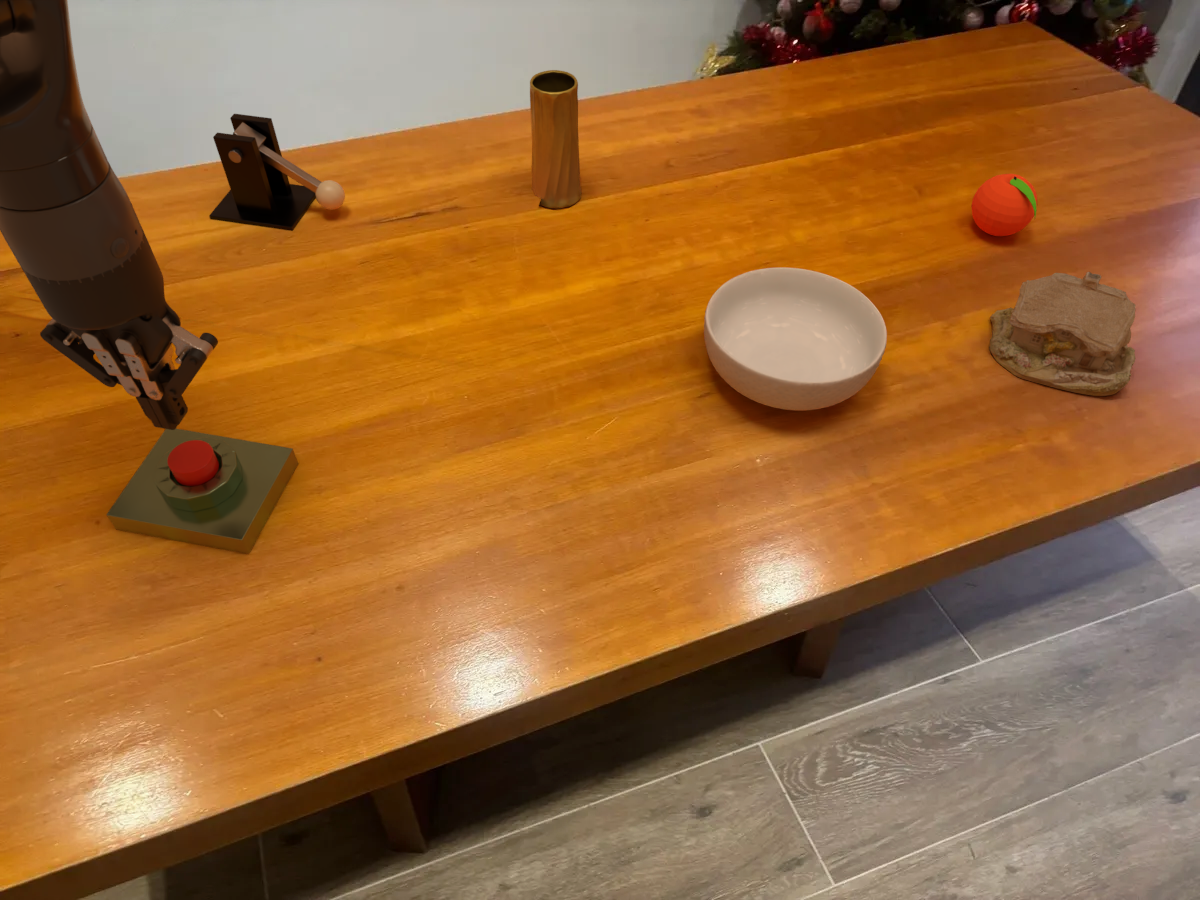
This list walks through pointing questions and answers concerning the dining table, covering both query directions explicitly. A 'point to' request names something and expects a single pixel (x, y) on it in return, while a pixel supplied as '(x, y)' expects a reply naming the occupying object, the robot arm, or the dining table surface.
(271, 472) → the button box
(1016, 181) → the clementine
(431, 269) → the dining table surface
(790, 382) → the cereal bowl
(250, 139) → the bracket
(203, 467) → the button
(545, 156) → the vase
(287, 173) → the lever
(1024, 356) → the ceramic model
